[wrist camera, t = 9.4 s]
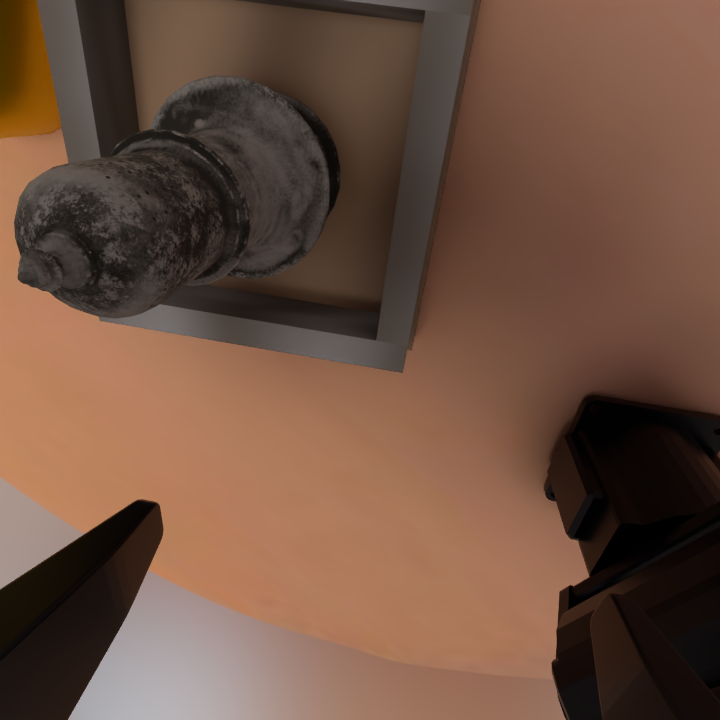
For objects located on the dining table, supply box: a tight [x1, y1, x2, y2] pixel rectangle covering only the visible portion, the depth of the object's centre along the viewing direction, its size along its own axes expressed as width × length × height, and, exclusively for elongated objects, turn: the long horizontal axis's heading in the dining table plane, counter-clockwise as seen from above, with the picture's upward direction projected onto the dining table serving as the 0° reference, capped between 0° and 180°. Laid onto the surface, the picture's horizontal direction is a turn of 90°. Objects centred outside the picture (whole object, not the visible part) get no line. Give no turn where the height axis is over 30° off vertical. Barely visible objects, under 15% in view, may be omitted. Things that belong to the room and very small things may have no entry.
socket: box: [37, 0, 481, 373], centre depth 17 cm, size 13×13×4 cm
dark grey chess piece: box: [14, 75, 340, 319], centre depth 12 cm, size 6×6×12 cm
